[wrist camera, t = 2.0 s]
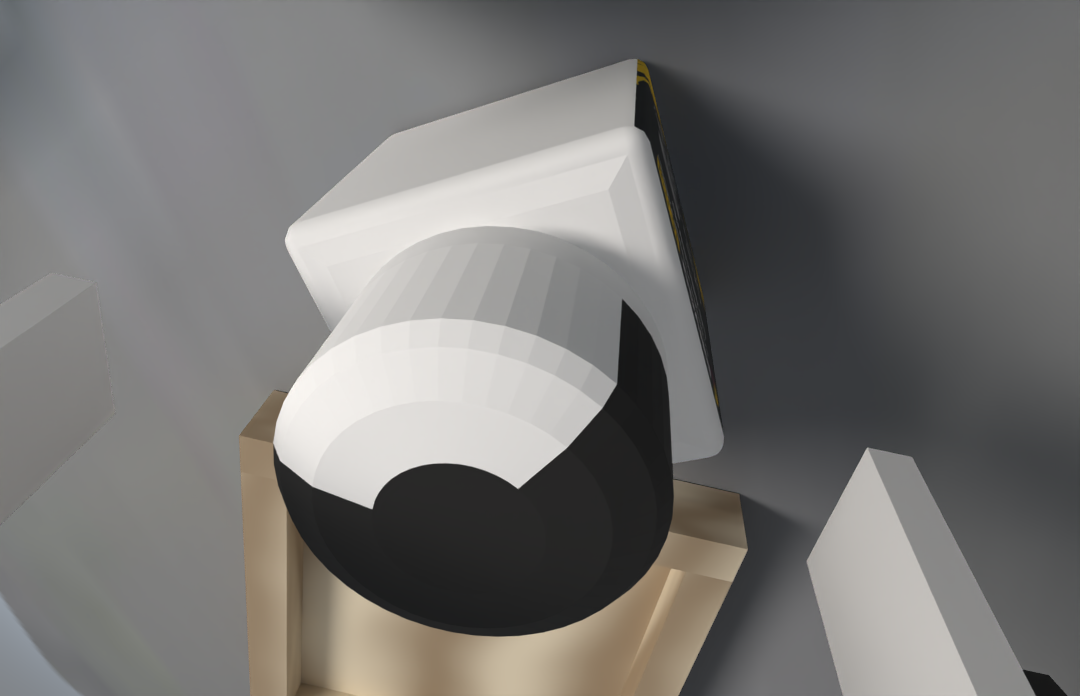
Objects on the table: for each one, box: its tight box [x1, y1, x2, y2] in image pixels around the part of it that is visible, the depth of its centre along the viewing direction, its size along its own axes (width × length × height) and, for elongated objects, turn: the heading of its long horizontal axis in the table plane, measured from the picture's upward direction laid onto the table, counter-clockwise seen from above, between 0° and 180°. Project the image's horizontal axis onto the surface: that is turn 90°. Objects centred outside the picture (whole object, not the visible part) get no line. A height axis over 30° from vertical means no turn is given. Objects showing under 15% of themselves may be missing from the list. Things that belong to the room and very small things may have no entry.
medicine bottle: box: [273, 59, 724, 637], centre depth 15 cm, size 7×7×12 cm
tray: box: [239, 390, 748, 696], centre depth 28 cm, size 16×16×2 cm
